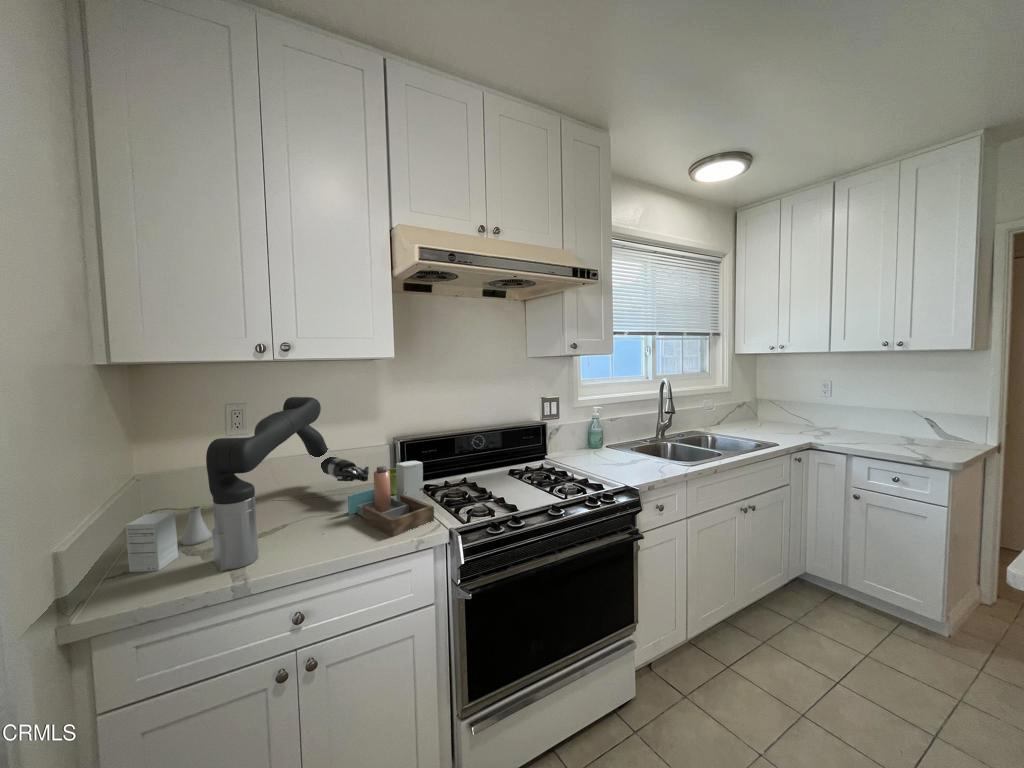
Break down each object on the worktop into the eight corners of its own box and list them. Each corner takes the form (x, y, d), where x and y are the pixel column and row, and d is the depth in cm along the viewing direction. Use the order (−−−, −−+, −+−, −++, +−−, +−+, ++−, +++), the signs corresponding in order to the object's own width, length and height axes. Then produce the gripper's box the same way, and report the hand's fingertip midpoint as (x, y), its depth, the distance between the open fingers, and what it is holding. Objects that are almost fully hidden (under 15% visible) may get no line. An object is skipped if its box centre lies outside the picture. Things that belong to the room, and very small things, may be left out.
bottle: (380, 514, 140) (378, 470, 139) (372, 511, 143) (370, 467, 142) (393, 510, 144) (392, 467, 143) (385, 506, 147) (384, 464, 146)
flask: (195, 547, 121) (193, 513, 120) (174, 545, 122) (172, 511, 121) (217, 536, 128) (215, 504, 127) (197, 534, 129) (195, 502, 128)
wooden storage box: (393, 536, 126) (392, 520, 126) (363, 521, 138) (362, 506, 137) (434, 521, 138) (433, 506, 137) (403, 508, 149) (403, 494, 149)
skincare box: (403, 507, 150) (402, 466, 149) (395, 502, 155) (394, 463, 154) (424, 501, 156) (423, 462, 155) (416, 497, 160) (415, 459, 159)
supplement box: (150, 558, 114) (147, 513, 113) (179, 557, 115) (176, 512, 114) (127, 572, 107) (123, 524, 106) (158, 571, 107) (154, 523, 106)
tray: (372, 526, 133) (371, 506, 133) (348, 514, 143) (347, 495, 143) (414, 511, 145) (413, 493, 145) (389, 501, 155) (389, 484, 155)
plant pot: (373, 496, 162) (373, 474, 161) (386, 488, 171) (386, 467, 170) (395, 498, 160) (395, 475, 159) (407, 490, 169) (407, 468, 168)
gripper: (324, 463, 156) (347, 472, 145) (357, 456, 166) (381, 464, 155) (325, 483, 157) (348, 493, 146) (358, 474, 167) (382, 484, 156)
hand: (365, 478), depth 150 cm, fingers closed
